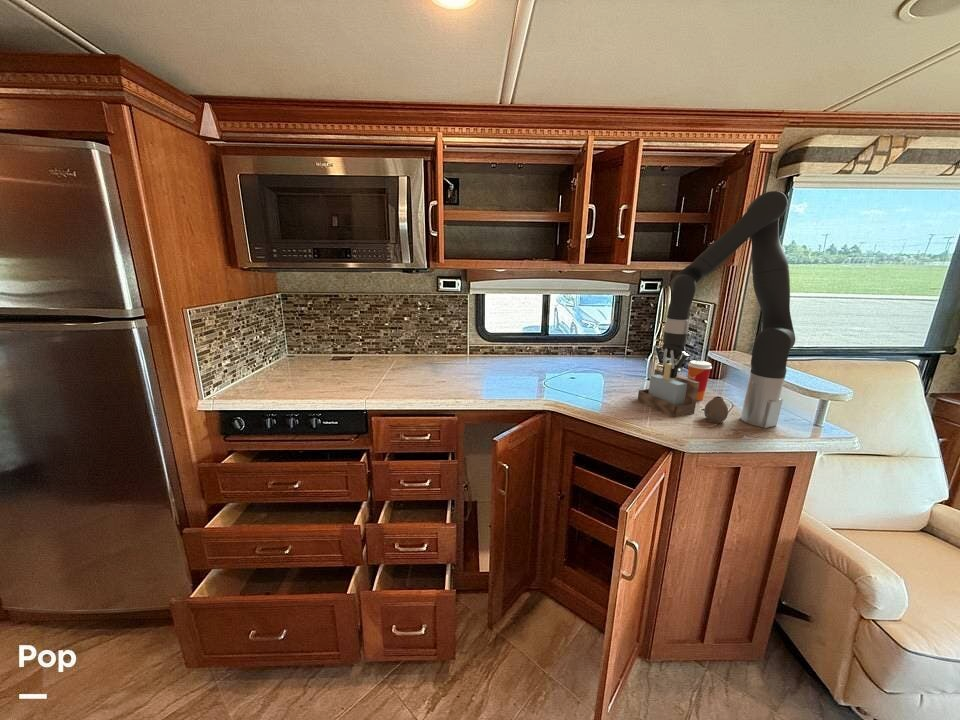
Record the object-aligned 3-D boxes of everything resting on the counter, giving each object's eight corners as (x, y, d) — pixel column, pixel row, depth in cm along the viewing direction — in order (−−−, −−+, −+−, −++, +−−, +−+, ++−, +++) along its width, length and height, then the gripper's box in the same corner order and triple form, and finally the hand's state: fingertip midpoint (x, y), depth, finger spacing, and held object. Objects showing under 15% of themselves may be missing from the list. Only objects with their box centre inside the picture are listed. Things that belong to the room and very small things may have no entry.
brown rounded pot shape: (720, 426, 122) (725, 402, 120) (699, 419, 127) (703, 396, 125) (729, 421, 126) (734, 398, 124) (708, 415, 131) (712, 392, 129)
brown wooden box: (694, 413, 132) (699, 382, 129) (674, 417, 129) (679, 385, 126) (654, 396, 149) (658, 368, 145) (635, 400, 145) (639, 371, 142)
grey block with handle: (683, 409, 134) (690, 367, 130) (673, 411, 132) (680, 369, 128) (656, 398, 145) (662, 359, 141) (647, 399, 143) (652, 360, 139)
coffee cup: (681, 393, 153) (687, 359, 149) (703, 396, 150) (710, 361, 146) (684, 400, 145) (690, 364, 141) (707, 403, 142) (714, 366, 138)
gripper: (700, 333, 126) (692, 381, 131) (667, 327, 139) (661, 370, 143) (685, 335, 123) (677, 383, 128) (652, 328, 136) (646, 372, 141)
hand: (669, 376), depth 136 cm, fingers closed on grey block with handle, 2 cm apart
